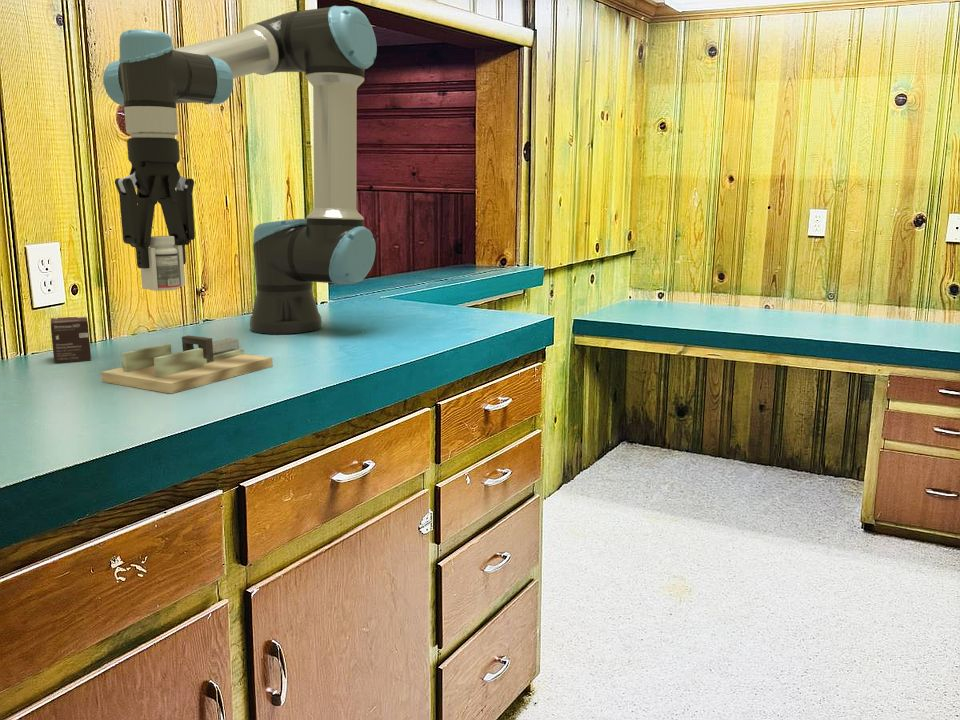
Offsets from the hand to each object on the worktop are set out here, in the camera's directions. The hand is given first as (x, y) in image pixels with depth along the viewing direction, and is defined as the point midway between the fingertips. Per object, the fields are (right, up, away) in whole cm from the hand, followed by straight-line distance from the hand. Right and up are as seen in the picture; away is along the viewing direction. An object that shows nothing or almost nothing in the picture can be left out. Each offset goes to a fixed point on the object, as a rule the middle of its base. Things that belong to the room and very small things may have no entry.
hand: (163, 286), depth 137 cm
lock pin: (+5, -11, +12) cm, 17 cm away
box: (-23, -12, +18) cm, 31 cm away
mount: (+2, -14, +6) cm, 15 cm away
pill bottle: (0, -1, 0) cm, 1 cm away
